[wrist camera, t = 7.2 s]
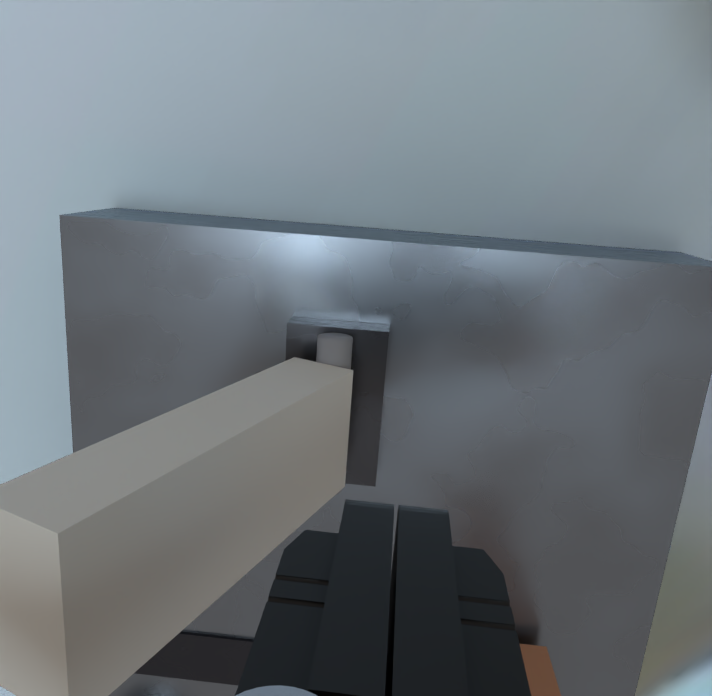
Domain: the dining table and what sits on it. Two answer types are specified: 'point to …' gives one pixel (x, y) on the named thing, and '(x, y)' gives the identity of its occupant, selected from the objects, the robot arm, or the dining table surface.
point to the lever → (163, 522)
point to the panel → (421, 402)
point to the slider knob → (539, 671)
